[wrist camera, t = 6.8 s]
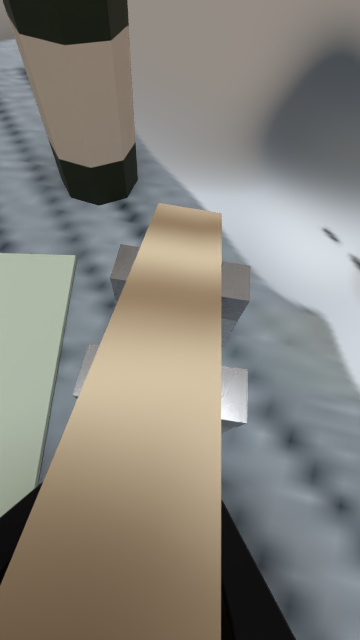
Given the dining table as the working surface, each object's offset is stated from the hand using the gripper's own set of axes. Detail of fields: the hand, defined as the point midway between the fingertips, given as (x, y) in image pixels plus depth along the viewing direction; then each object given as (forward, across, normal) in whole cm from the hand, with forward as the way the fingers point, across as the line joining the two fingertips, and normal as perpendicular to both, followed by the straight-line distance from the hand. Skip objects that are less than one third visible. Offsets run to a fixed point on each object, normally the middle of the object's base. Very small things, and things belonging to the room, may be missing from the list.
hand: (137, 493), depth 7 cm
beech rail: (+6, 0, 0) cm, 6 cm away
